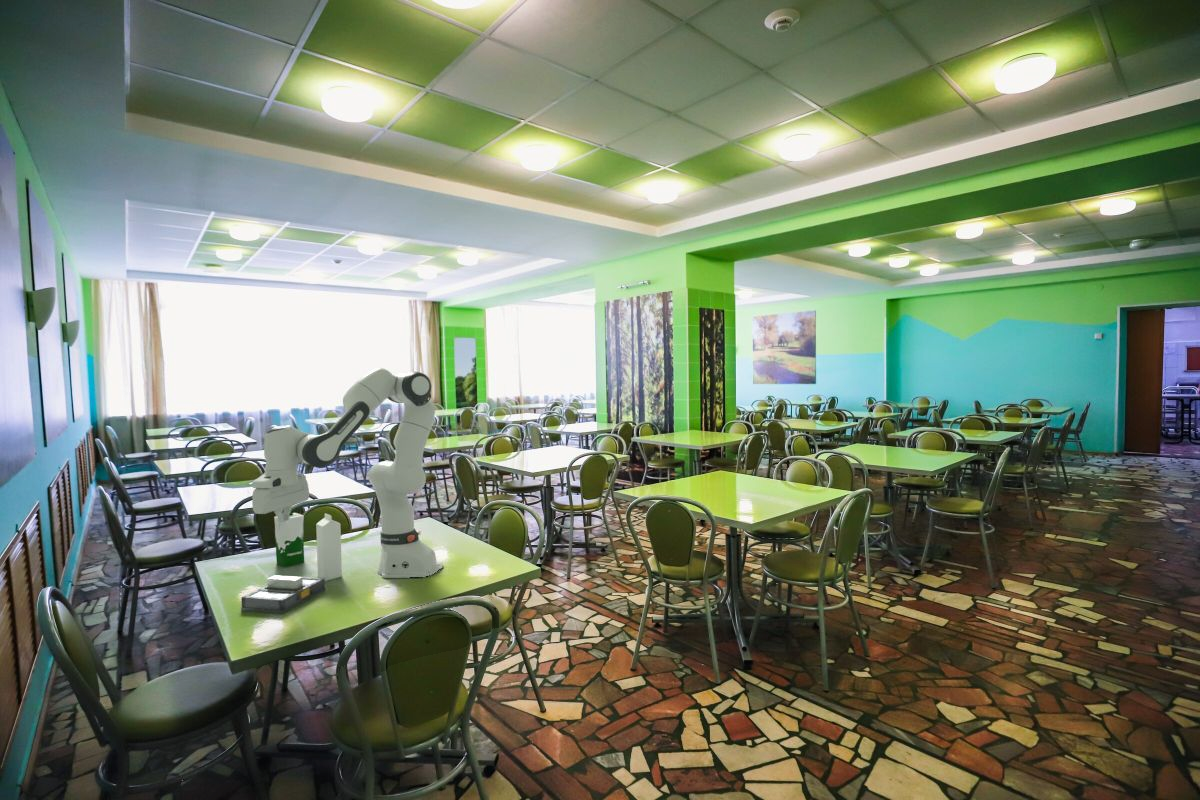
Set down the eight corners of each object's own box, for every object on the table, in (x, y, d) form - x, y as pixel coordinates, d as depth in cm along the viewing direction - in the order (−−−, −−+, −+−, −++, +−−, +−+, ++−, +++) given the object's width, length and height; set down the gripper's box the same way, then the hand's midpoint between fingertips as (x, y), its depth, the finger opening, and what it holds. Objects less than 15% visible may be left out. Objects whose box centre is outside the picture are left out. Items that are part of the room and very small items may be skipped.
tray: (326, 590, 185) (326, 578, 185) (282, 614, 166) (282, 600, 166) (287, 587, 188) (287, 575, 188) (240, 610, 169) (239, 597, 169)
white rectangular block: (302, 595, 177) (302, 577, 177) (296, 599, 174) (295, 580, 174) (275, 594, 179) (274, 575, 179) (267, 597, 176) (267, 578, 176)
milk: (335, 572, 202) (333, 511, 201) (342, 576, 197) (340, 514, 197) (317, 577, 197) (315, 514, 197) (324, 581, 193) (322, 517, 192)
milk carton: (297, 557, 219) (295, 506, 219) (308, 562, 214) (306, 509, 213) (272, 563, 212) (271, 511, 212) (284, 568, 207) (282, 514, 206)
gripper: (296, 471, 188) (298, 512, 188) (247, 483, 168) (249, 529, 168) (313, 471, 187) (315, 513, 187) (265, 483, 167) (267, 530, 167)
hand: (283, 521), depth 178 cm, fingers closed
